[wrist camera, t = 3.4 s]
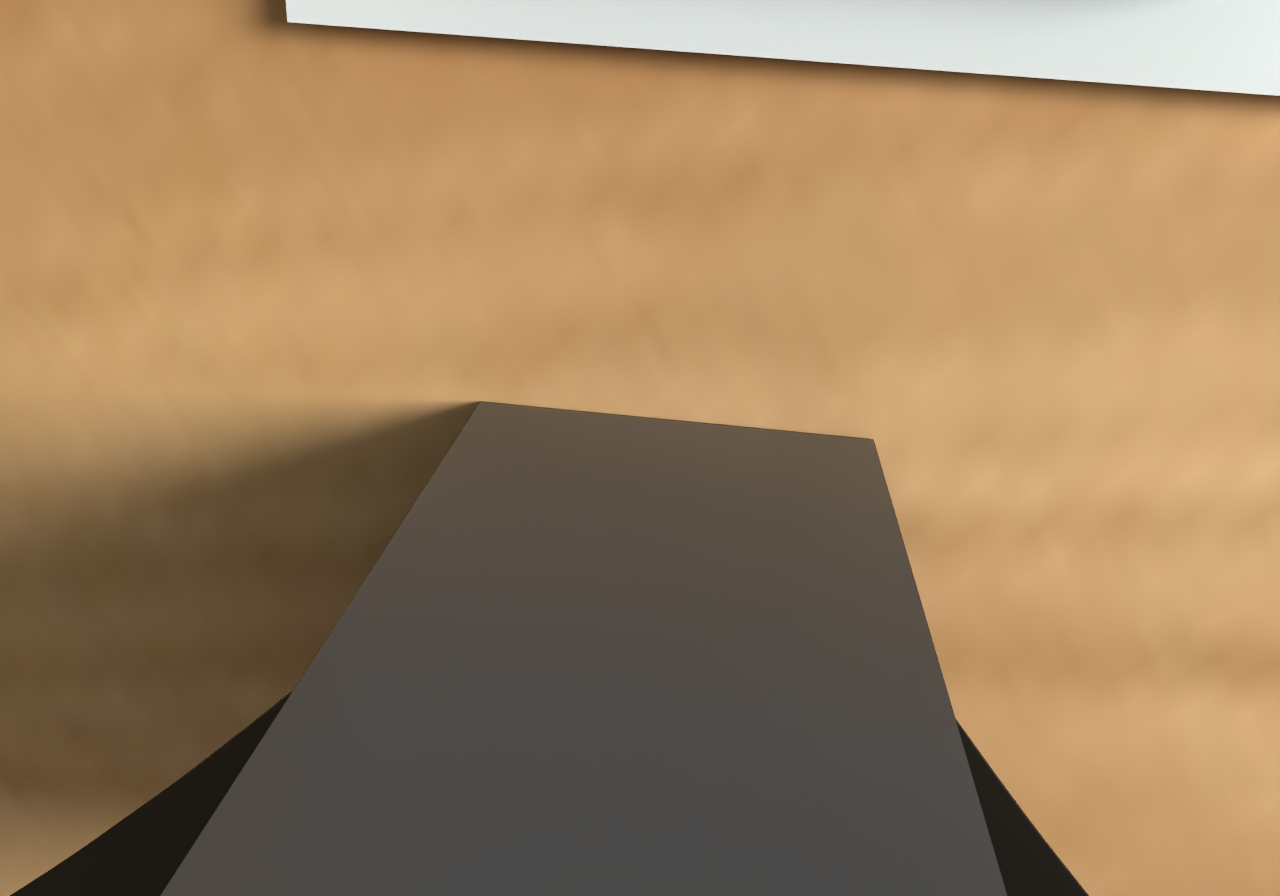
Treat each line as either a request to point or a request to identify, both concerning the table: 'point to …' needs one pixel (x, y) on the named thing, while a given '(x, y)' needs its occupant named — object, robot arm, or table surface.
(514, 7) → the socket dock
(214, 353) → the table surface
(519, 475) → the plug
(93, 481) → the table surface
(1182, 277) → the table surface
